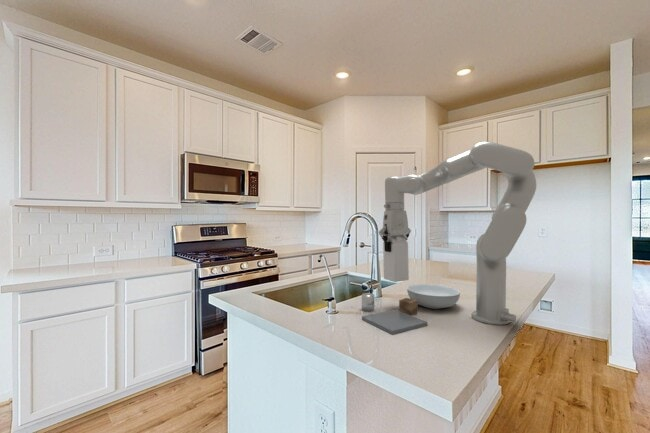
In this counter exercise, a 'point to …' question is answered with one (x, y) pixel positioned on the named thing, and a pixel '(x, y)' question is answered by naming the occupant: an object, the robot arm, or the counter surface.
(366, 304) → the glass jar
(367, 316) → the plate
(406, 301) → the walnut block
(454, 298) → the serving bowl
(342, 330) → the counter surface
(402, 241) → the milk carton
